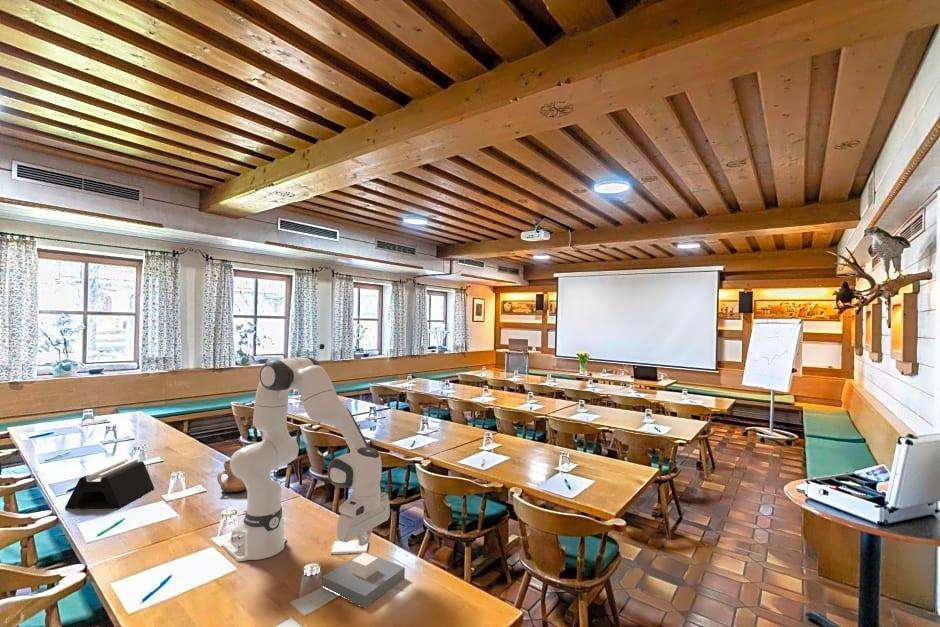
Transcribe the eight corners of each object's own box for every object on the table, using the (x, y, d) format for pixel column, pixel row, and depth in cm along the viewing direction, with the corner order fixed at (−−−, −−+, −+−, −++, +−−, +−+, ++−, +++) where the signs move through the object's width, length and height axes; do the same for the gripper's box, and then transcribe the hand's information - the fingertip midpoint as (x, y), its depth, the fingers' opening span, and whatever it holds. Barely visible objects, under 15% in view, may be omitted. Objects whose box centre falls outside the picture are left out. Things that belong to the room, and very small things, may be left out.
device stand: (64, 510, 186) (66, 474, 187) (105, 490, 209) (106, 458, 209) (119, 509, 188) (121, 474, 188) (154, 489, 210) (155, 458, 211)
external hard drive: (334, 545, 162) (368, 543, 164) (330, 556, 154) (366, 554, 156) (334, 540, 162) (368, 538, 164) (330, 552, 154) (366, 550, 156)
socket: (322, 588, 135) (322, 576, 135) (363, 561, 150) (364, 551, 150) (364, 608, 125) (364, 596, 125) (404, 578, 141) (404, 567, 141)
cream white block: (350, 584, 137) (351, 560, 137) (363, 575, 142) (364, 552, 142) (364, 590, 134) (365, 565, 134) (377, 581, 138) (377, 557, 139)
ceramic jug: (247, 481, 223) (248, 453, 223) (262, 487, 214) (262, 459, 215) (210, 492, 209) (210, 462, 209) (223, 499, 200) (224, 468, 200)
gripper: (381, 488, 149) (379, 528, 149) (334, 508, 131) (332, 554, 131) (395, 492, 146) (393, 533, 146) (349, 514, 128) (347, 561, 128)
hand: (363, 544), depth 138 cm, fingers closed
